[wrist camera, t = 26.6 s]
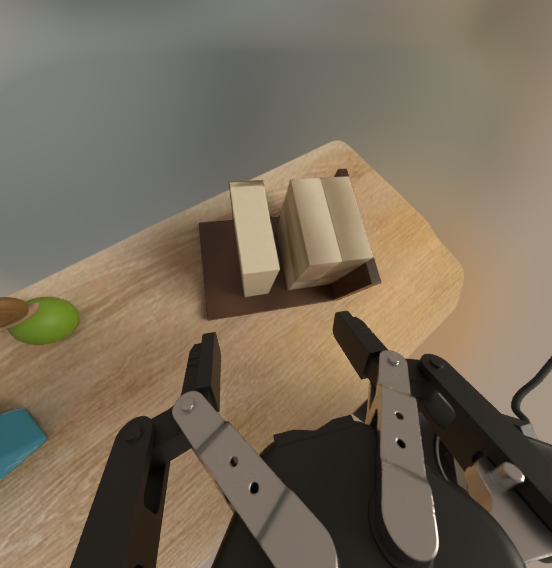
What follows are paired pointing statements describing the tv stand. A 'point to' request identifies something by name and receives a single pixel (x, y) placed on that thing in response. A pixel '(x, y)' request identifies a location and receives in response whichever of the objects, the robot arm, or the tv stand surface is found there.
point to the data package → (17, 439)
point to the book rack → (295, 252)
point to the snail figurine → (38, 319)
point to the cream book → (254, 237)
